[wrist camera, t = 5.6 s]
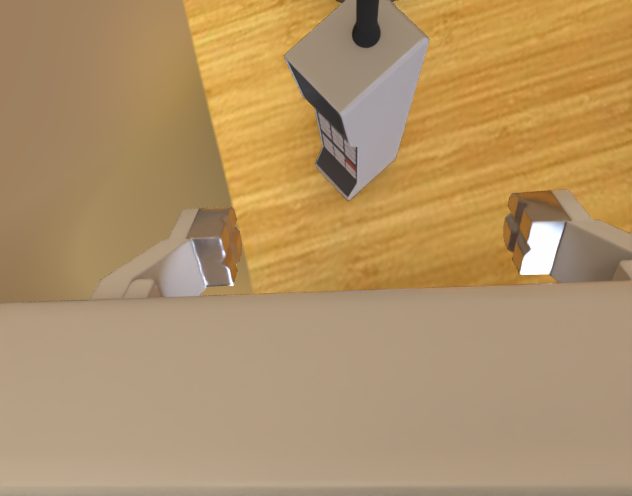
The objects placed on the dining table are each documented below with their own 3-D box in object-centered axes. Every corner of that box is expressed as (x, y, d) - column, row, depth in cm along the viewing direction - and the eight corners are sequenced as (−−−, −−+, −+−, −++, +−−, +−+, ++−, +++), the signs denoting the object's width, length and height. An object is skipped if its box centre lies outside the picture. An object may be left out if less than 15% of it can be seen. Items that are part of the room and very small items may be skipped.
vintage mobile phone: (315, 168, 36) (226, -133, 11) (363, 125, 36) (380, -270, 11) (348, 202, 35) (330, -32, 10) (395, 159, 35) (492, -176, 10)
